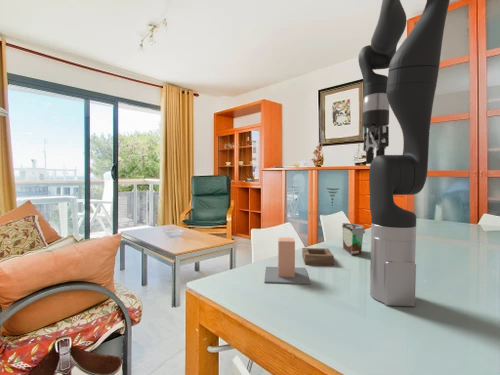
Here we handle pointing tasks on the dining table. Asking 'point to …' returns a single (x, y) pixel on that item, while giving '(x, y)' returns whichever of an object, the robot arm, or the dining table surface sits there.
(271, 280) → the rubber mat
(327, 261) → the walnut pocket
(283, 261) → the terracotta block
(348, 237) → the food container
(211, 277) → the dining table surface
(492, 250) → the dining table surface
